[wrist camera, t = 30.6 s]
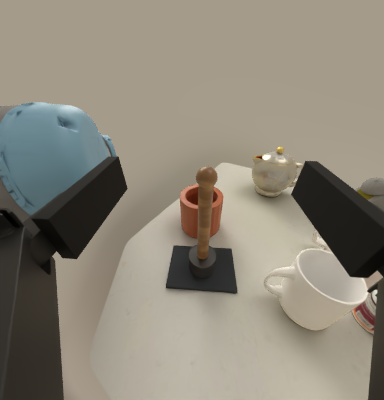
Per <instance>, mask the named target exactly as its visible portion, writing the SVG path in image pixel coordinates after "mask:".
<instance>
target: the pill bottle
mask: <svg viewBox="0 0 384 400" xmlns="http://www.w3.org/2000/svg"><path fill="white" fill-rule="evenodd" d="M376 294H377V290H374V291H372V292H371V293H370V294H369V295H368V296H367V298H366V300H365V301H364V302H363V303H361V304H360V305H359V306H357V307H356V308H354V309H353V310H352V313H353V316H354V318H355V319H356V321H357V322H358V323H359V324H360V325H361V326H362V327H363V328H364V329H365V330H367V331H368V332H370V333H372V334H374V324H375V312H376V300H377V297H376V296H375V295H376Z"/></svg>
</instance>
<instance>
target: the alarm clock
mask: <svg viewBox="0 0 384 400" xmlns="http://www.w3.org/2000/svg"><path fill="white" fill-rule="evenodd" d="M355 191H356V192H358V193H359V194H360V195H362V196H363V197H364V198H366V199H367V200H368V201H370V202H371V203H373V204H375V205H377V206H378V207H380V208H381V209H382V210H384V179H383V178H371V179H369V180H366V181H365V182H364V183H363V184H362V186H361V187H359V188H357V189H355Z"/></svg>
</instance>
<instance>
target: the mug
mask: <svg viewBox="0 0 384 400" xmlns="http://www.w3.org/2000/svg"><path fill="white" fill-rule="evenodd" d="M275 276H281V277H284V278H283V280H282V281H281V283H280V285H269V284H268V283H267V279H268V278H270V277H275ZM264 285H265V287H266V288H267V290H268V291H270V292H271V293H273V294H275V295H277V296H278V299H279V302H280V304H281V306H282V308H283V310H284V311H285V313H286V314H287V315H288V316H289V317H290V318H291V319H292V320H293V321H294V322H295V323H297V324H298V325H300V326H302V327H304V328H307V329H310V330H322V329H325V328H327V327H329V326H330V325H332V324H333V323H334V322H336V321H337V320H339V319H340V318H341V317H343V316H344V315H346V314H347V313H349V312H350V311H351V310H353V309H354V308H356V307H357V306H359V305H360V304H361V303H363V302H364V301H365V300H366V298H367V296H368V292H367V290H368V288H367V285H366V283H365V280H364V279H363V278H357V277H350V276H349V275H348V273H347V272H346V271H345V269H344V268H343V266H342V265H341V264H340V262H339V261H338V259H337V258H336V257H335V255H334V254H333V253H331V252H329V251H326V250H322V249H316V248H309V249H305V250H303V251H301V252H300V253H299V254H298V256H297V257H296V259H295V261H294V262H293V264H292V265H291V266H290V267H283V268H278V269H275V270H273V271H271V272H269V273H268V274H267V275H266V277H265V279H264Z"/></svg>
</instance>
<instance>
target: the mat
mask: <svg viewBox="0 0 384 400" xmlns="http://www.w3.org/2000/svg"><path fill="white" fill-rule="evenodd" d="M192 248H193V247H192V246H174V248H173V253H172V258H171V263H170V268H169V273H168V278H167V283H166V288H174V289H188V290H202V291H215V292H229V293H237V286H236V278H235V271H234V264H233V257H232V250H231V249H227V248H213V249H214V251H215V253H216V263H215V270H214V272H213V274H212V275H211V276H209V277H207V278H198V277H195V276H194V275H193V274H192V273H191V271H190V269H189V252H190V250H191V249H192Z"/></svg>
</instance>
